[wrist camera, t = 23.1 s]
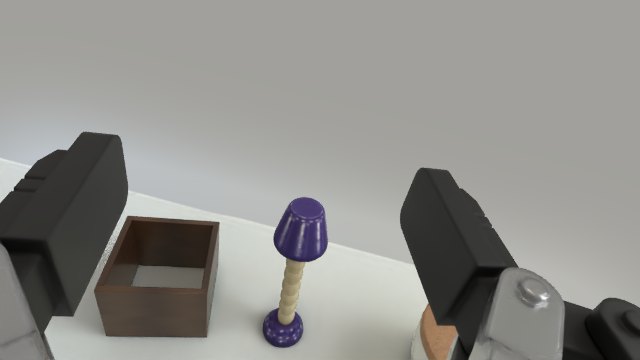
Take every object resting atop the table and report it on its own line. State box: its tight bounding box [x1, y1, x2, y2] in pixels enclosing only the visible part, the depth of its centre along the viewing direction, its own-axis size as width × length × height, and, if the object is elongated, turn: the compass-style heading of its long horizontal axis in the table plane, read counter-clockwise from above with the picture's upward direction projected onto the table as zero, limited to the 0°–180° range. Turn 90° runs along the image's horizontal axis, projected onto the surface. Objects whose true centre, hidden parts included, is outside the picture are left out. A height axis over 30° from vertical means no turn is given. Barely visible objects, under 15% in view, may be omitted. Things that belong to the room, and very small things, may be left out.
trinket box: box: [411, 304, 458, 360], centre depth 36 cm, size 11×11×9 cm
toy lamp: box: [263, 197, 328, 347], centre depth 35 cm, size 5×5×17 cm
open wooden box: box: [94, 216, 219, 337], centre depth 38 cm, size 9×9×7 cm
